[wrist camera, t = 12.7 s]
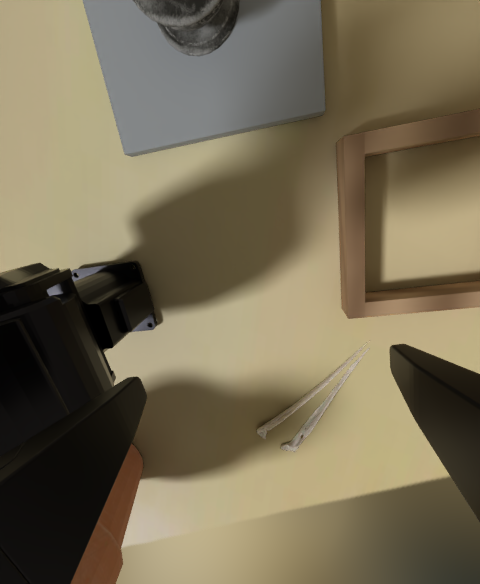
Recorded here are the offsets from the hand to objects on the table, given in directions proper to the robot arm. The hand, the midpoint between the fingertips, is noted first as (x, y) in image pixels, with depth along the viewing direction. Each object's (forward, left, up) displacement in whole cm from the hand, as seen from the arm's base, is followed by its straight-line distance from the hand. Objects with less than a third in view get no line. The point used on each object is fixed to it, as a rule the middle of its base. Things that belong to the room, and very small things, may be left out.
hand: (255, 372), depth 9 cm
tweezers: (+4, -12, -14) cm, 19 cm away
